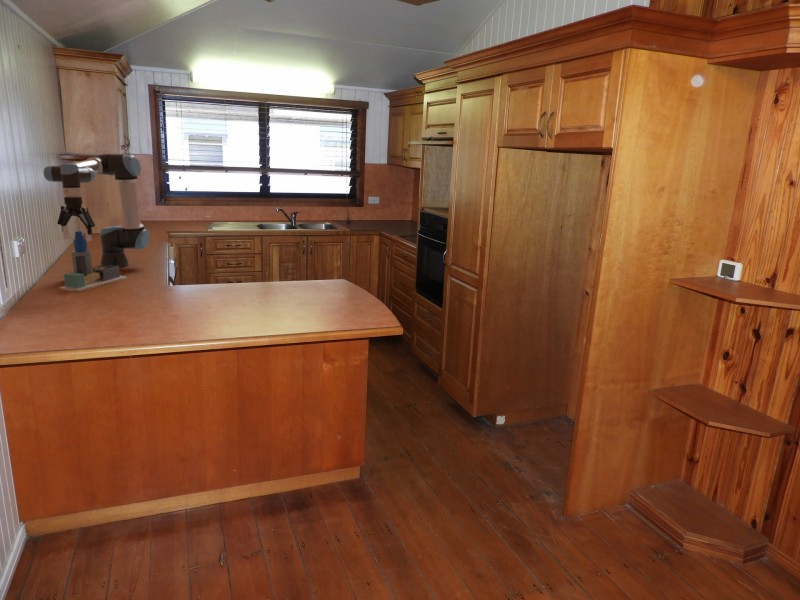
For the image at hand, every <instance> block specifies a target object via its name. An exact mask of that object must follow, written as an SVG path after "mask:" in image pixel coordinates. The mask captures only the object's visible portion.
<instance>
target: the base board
mask: <svg viewBox="0 0 800 600" xmlns="http://www.w3.org/2000/svg"><path fill="white" fill-rule="evenodd" d="M124 279H125V280H127V279H128V276H126V275H120V277H117V278H113V279H110V280H106V281H100V280H91V281H88V282H85V287H82V288H70V287H65V285H63V286H60V287H59V290H60V289H62V290H61V291H68V290H69V292H70V291H71V292H76V291H79V292H78V293H80V291H81V292H84V291H83V290H85V291H87V290H86V289H88V290H90V289H89V288H92V289H94V288H93V287H96V288H98V287H97V286H99V287H102V286H101V285H103V286H105V285H104V284H107V283H110V284H113V283H112V282H114V283H116V282H115V281H117V282H120V281H119V280H121V281H124ZM107 285H108V284H107Z"/></svg>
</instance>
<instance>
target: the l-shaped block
mask: <svg viewBox="0 0 800 600" xmlns="http://www.w3.org/2000/svg"><path fill="white" fill-rule="evenodd" d="M75 259H76V267H77V273H80V274H84V281H85V282H88V281H91V280H95V279H99V278H102V271H97V272H94V271H93V273H89V274H87V269H86V260H85V256H75Z"/></svg>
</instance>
